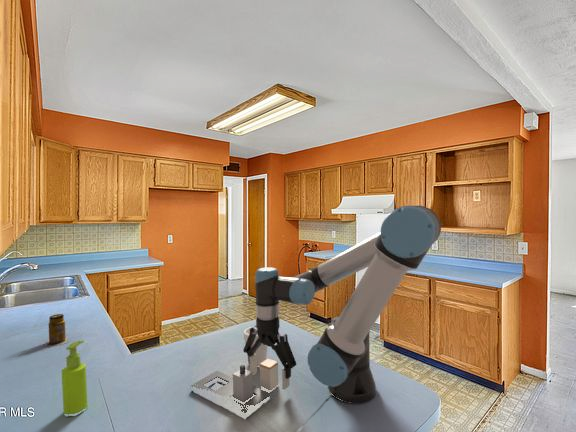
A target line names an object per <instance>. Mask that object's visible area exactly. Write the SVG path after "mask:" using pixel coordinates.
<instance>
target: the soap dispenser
mask: <svg viewBox="0 0 576 432" xmlns="http://www.w3.org/2000/svg"><path fill="white" fill-rule="evenodd" d="M84 342H85V340H76V341H73V342H72V343H70V344H69V345H68V346H66V350H69V355H67V356H66V366H65V367H63V368H62V370H61V382H62V383H61V385H62V406H63V407H62V408H63V409H62V410H63V415H64V414H68V415H69V414H75V413H78V412H80V411H82V410H83V409H85V408H86V407H87V408H88V393H87V391H88V388H87V367H86V364H85V363H84V362H81V354H80V353H78V352H77V347H78V346H79V345H81V344H83V343H84Z"/></svg>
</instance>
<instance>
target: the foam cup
mask: <svg viewBox="0 0 576 432" xmlns="http://www.w3.org/2000/svg"><path fill="white" fill-rule="evenodd" d="M252 327H253V326H249V327H247V328H246V329H244V331H243V340H244V342H245V343H244V344H246V342H247V339H248V337H249V334H250V328H252ZM258 338H259V336H258V334H257V335H256V337H255V340H254V342H253V345H254V344H255V342H256V340H257V339H258ZM253 345H252V346H253ZM268 347H269V346H267V345H263V343H262V344H261V345H260V346H259V348H258V349H257V350H256V351H255V353H254V354H257V366H260V363H262V362H263V361H265V360H266V359H267V357H268V356H267V355H268ZM251 348H252V347H251ZM246 356H247V358H248V355H247V354H246Z"/></svg>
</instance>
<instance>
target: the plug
mask: <svg viewBox="0 0 576 432" xmlns="http://www.w3.org/2000/svg"><path fill="white" fill-rule="evenodd" d="M259 384H260V385H259V387H260V386H262V387H264V388H266V389H268V390H272V389H273V388H275V387H276V386H277V385H278V386H279V363H278V361H277V360H273V359H271V358H266V360H265V361H263V362H262V363H260V367H259Z"/></svg>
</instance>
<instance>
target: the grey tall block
mask: <svg viewBox="0 0 576 432" xmlns="http://www.w3.org/2000/svg"><path fill="white" fill-rule="evenodd" d="M232 377H233V397H234V398H236V399H238V400H240V401H242V402H245V401H246V400H248V399H249V398H251V397H252V396H253V386H254V380H253V379H254V375H253V372H252V371H250V369H246V365H244V364H241V365H239V369H238V370H237V371H235V372H233V373H232Z"/></svg>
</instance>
